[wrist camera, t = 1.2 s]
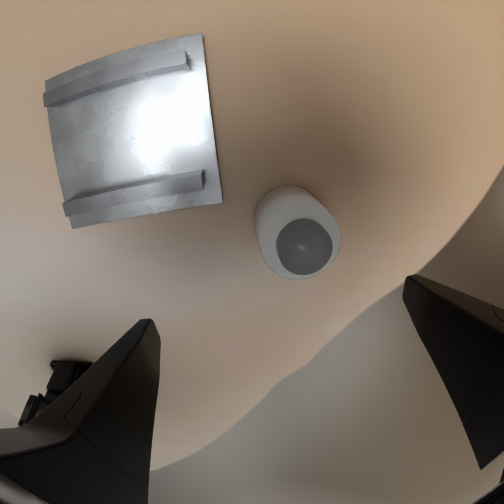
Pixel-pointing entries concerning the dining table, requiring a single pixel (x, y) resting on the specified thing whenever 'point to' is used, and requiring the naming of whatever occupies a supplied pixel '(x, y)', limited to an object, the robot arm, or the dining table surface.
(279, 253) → the grey capped cylinder
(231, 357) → the dining table surface
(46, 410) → the robot arm
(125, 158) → the cradle
